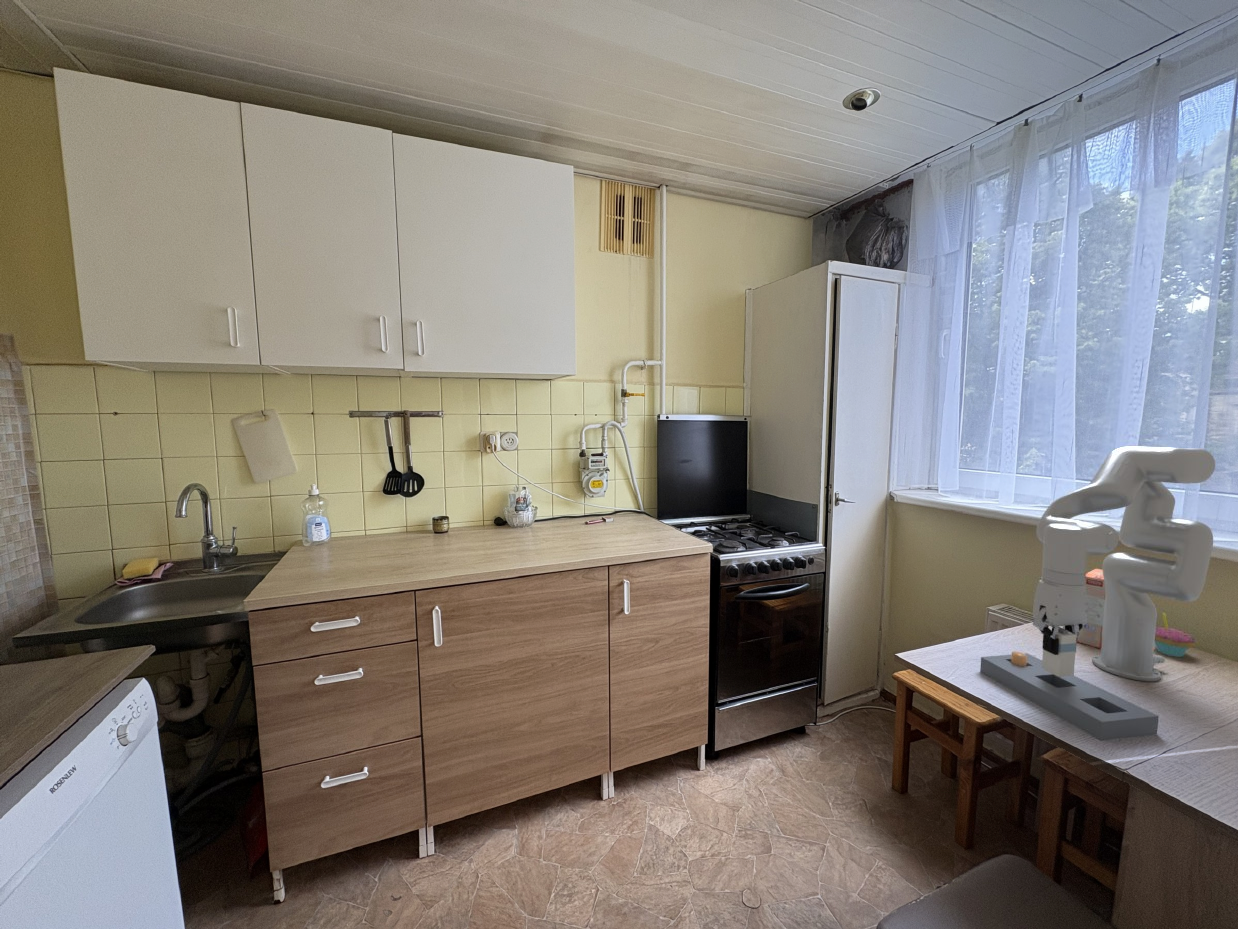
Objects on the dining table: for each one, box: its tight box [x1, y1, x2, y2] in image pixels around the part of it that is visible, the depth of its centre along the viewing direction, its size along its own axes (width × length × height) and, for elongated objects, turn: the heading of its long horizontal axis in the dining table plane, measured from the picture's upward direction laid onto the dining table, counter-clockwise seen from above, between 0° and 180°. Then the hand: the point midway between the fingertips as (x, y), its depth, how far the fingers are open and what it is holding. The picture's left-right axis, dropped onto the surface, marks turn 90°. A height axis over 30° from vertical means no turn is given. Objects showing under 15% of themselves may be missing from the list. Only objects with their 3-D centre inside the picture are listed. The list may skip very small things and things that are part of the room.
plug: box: [1041, 626, 1077, 677], centre depth 113 cm, size 4×4×11 cm
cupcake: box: [1154, 610, 1196, 658], centre depth 136 cm, size 9×8×12 cm
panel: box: [979, 652, 1160, 741], centre depth 113 cm, size 14×28×4 cm, turn 8°
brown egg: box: [1011, 651, 1027, 667], centre depth 122 cm, size 3×3×6 cm
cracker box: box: [1076, 568, 1105, 650], centre depth 144 cm, size 14×6×21 cm, turn 123°
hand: (1059, 650), depth 113 cm, fingers closed on plug, 4 cm apart
